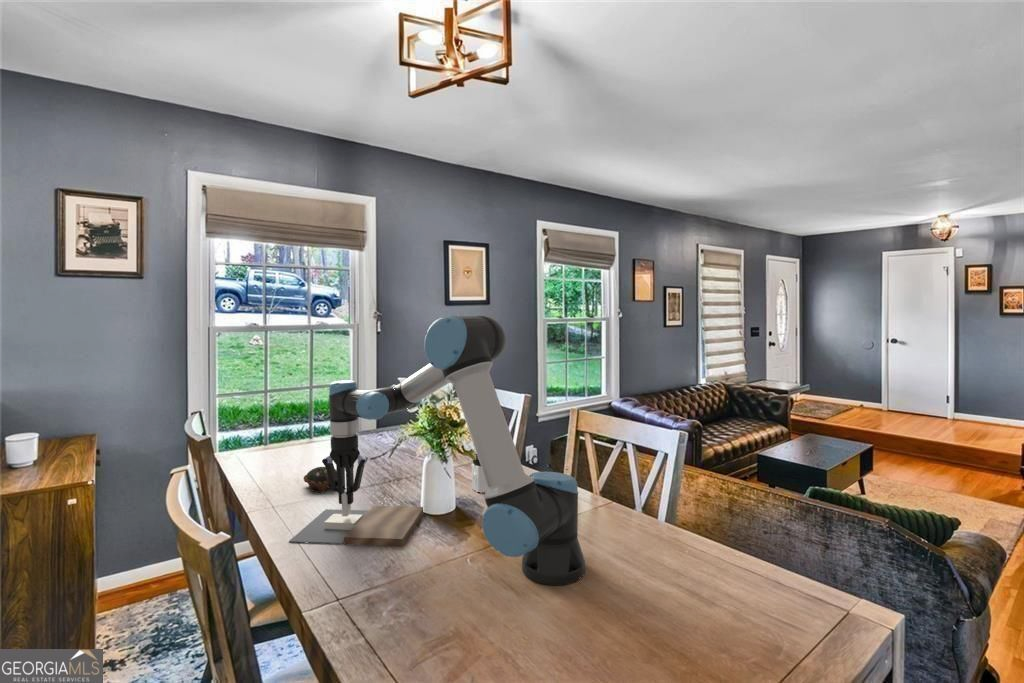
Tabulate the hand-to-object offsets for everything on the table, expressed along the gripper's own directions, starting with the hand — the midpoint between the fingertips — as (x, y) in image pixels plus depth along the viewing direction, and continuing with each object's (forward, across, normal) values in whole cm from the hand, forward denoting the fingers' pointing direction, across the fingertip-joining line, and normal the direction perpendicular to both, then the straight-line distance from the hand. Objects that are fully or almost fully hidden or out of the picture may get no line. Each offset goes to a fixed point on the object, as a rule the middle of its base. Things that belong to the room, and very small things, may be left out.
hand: (346, 514), depth 144 cm
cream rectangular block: (+3, +1, 0) cm, 3 cm away
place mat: (+4, +4, 0) cm, 5 cm away
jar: (+4, -36, -33) cm, 49 cm away
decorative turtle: (+4, +22, -30) cm, 38 cm away
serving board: (+4, -12, 0) cm, 12 cm away
